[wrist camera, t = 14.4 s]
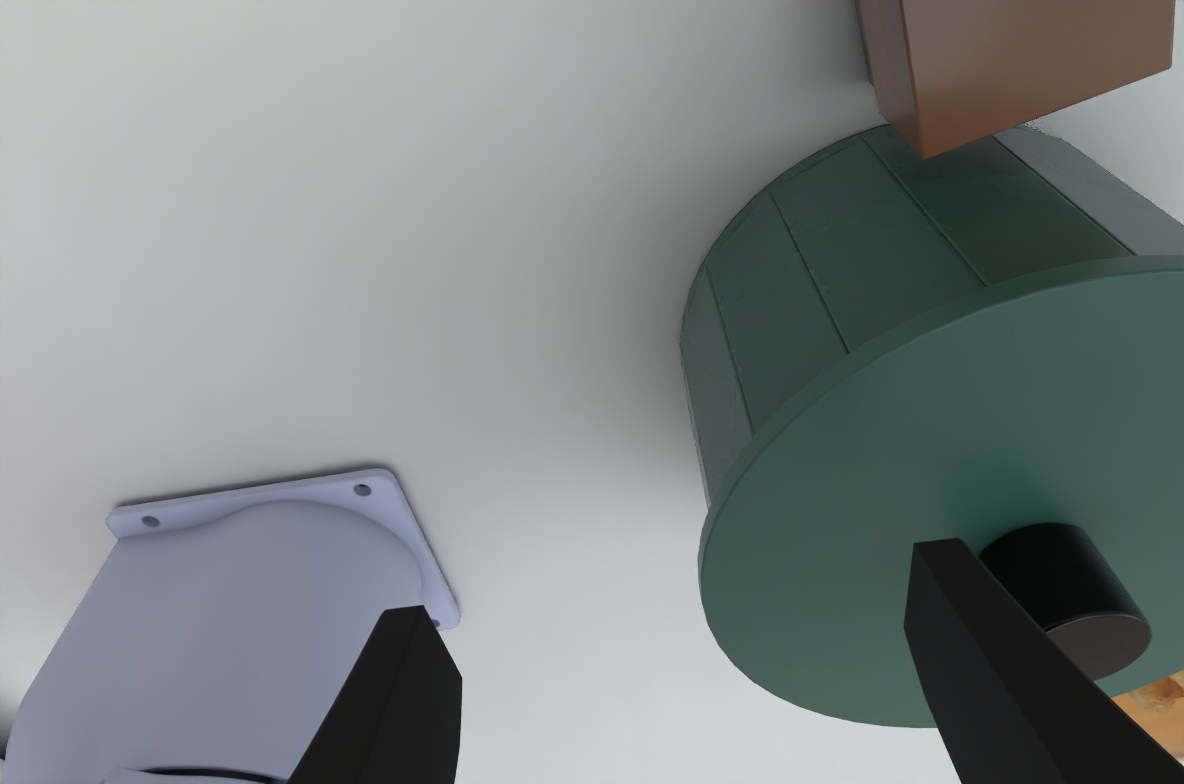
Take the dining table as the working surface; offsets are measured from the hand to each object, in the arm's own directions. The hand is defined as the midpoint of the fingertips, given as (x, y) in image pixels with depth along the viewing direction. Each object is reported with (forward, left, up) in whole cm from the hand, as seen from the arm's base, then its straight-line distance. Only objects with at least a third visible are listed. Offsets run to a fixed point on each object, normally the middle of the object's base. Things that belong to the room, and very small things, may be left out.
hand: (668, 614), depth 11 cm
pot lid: (+7, -3, -3) cm, 8 cm away
